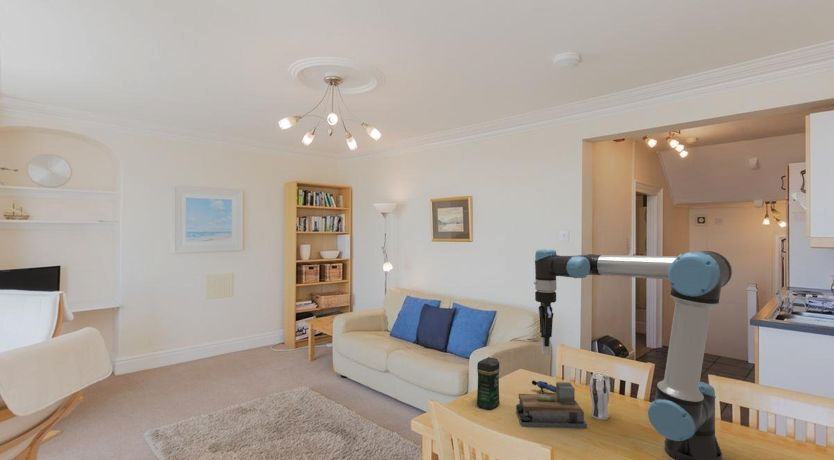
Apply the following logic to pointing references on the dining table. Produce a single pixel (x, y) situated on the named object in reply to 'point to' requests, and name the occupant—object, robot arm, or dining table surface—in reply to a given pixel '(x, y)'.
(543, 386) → the person figurine
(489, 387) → the coffee jar
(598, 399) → the beer glass
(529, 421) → the grey base with fittings
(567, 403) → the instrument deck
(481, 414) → the dining table surface
